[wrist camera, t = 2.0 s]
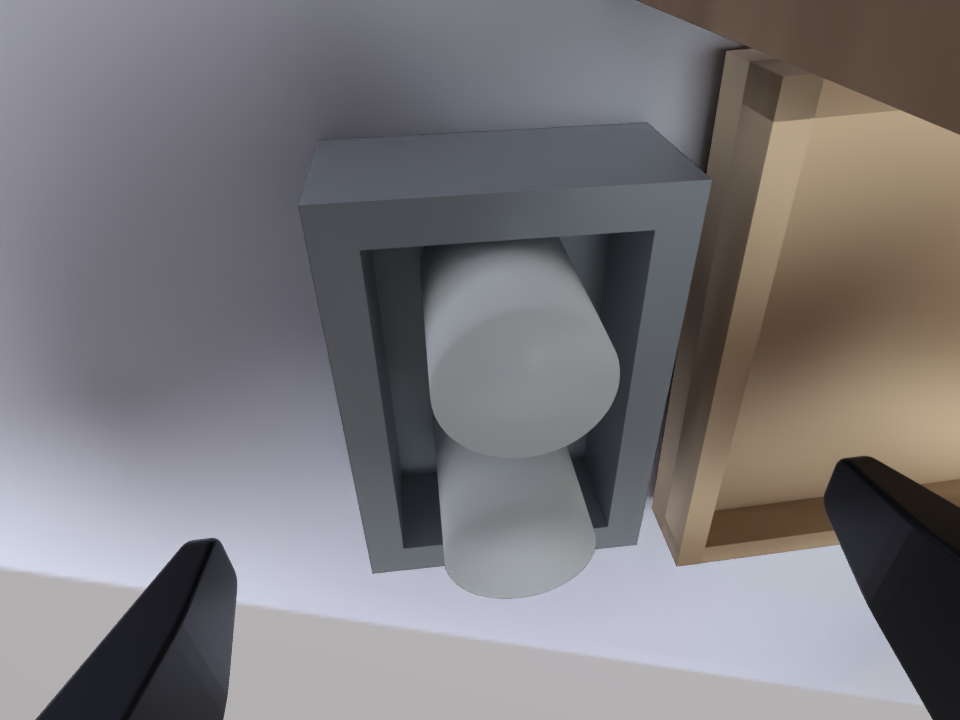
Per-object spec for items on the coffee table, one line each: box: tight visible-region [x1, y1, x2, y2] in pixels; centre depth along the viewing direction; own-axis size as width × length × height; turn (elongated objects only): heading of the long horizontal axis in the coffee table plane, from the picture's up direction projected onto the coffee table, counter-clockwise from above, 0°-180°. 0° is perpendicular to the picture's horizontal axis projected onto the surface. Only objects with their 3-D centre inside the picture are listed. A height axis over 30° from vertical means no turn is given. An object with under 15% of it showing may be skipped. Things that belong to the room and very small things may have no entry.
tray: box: [298, 122, 712, 599], centre depth 11 cm, size 8×6×4 cm
